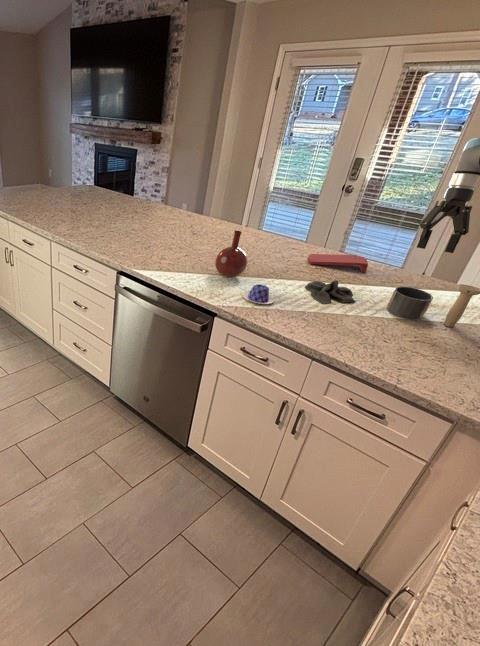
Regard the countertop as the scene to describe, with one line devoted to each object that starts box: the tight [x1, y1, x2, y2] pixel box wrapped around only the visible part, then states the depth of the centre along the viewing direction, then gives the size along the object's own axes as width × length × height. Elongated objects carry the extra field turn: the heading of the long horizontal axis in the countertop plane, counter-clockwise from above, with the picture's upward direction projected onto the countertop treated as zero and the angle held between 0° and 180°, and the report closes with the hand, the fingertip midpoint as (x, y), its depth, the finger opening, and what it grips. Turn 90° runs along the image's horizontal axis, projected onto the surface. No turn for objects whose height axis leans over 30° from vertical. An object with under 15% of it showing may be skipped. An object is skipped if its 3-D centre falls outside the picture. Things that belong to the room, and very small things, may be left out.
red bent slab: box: [307, 253, 369, 273], centre depth 200 cm, size 12×5×25 cm
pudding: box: [242, 283, 275, 305], centre depth 163 cm, size 12×12×5 cm
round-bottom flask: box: [214, 230, 248, 279], centre depth 177 cm, size 13×13×20 cm
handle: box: [443, 283, 480, 328], centre depth 147 cm, size 5×6×15 cm
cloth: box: [304, 279, 356, 305], centre depth 169 cm, size 22×19×6 cm
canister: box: [385, 286, 434, 321], centre depth 157 cm, size 12×12×8 cm
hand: (434, 250), depth 150 cm, fingers open, 13 cm apart
